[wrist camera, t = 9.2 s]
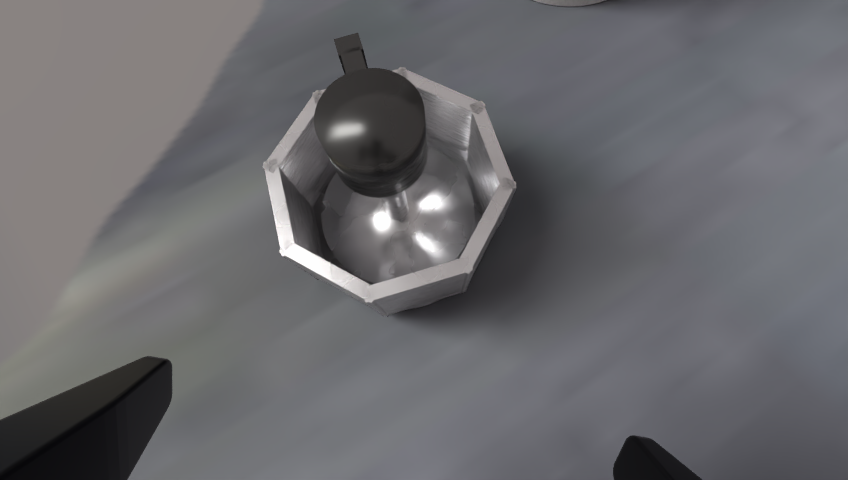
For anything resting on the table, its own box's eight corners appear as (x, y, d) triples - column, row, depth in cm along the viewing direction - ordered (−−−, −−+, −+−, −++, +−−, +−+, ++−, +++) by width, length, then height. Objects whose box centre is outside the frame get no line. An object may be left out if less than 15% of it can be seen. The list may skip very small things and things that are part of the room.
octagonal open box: (518, 279, 22) (543, 251, 16) (332, 335, 21) (293, 326, 16) (445, 82, 26) (446, 5, 20) (285, 127, 25) (241, 61, 20)
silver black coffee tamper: (437, 312, 21) (434, 274, 12) (298, 252, 22) (200, 176, 13) (495, 176, 23) (529, 56, 14) (364, 127, 24) (317, -11, 15)
